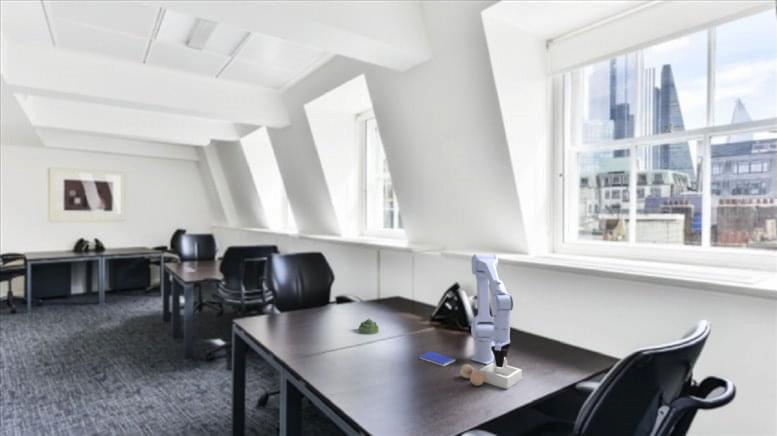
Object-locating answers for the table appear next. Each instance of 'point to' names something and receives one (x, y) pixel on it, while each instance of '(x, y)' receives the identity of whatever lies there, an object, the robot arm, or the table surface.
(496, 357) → the robot arm
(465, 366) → the light oak ball
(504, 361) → the steel ball
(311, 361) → the table surface
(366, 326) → the decorative artifact
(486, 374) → the off-white bin
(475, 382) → the terracotta ball
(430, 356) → the hard drive
